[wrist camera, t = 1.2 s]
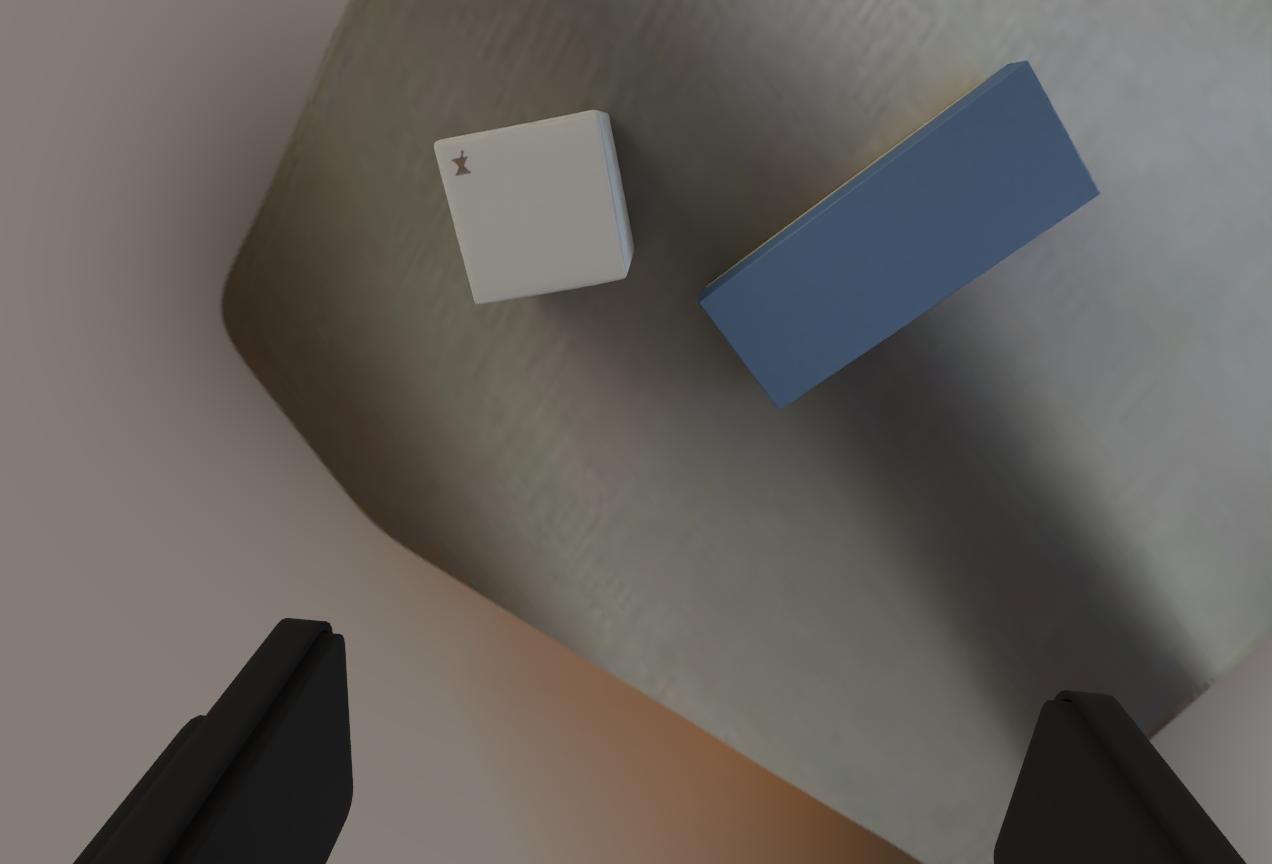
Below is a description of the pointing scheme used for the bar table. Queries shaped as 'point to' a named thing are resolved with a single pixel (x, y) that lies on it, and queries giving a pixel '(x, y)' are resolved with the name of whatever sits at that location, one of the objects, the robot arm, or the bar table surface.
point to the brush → (901, 235)
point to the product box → (538, 206)
